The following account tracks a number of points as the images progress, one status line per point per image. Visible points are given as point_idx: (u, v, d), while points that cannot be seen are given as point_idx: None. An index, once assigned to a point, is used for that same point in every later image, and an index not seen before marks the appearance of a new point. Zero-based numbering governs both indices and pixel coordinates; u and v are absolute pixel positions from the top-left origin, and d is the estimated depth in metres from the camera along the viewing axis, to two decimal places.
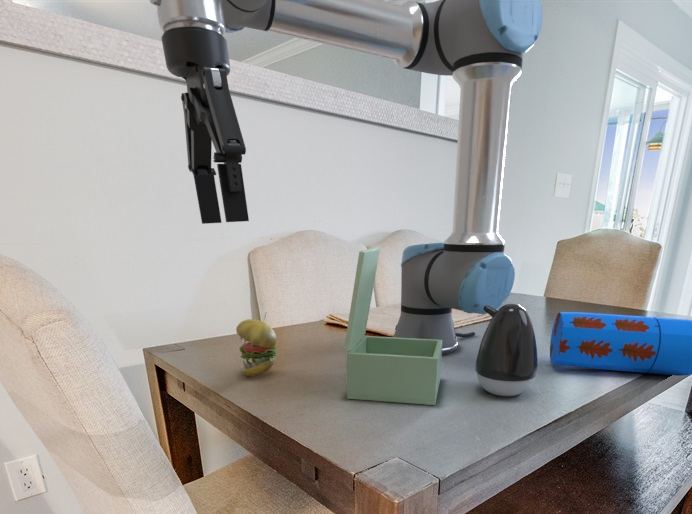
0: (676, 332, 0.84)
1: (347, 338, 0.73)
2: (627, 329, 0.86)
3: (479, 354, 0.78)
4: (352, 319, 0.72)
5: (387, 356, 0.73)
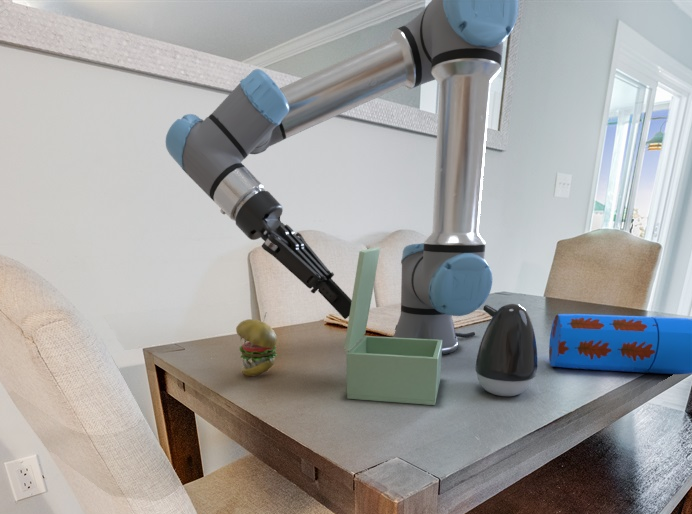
0: (674, 331, 0.85)
1: (347, 338, 0.73)
2: (625, 329, 0.86)
3: (479, 354, 0.78)
4: (352, 319, 0.72)
5: (387, 356, 0.73)
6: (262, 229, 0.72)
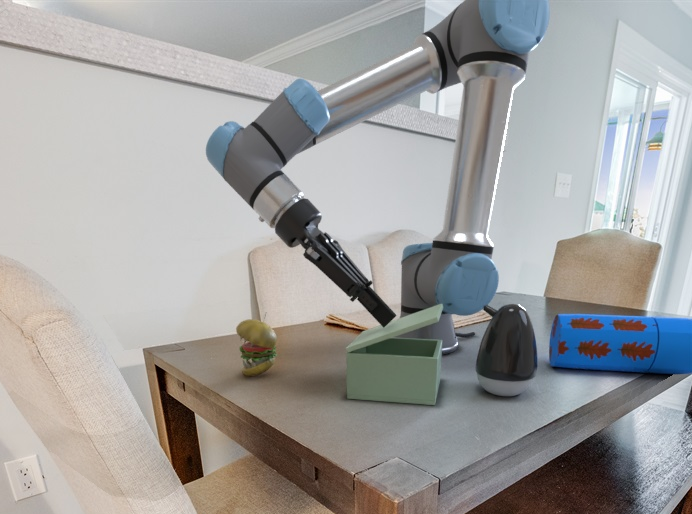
0: (674, 331, 0.85)
1: (357, 346, 0.73)
2: (625, 329, 0.86)
3: (479, 354, 0.78)
4: (376, 341, 0.72)
5: (387, 356, 0.73)
6: (303, 237, 0.71)
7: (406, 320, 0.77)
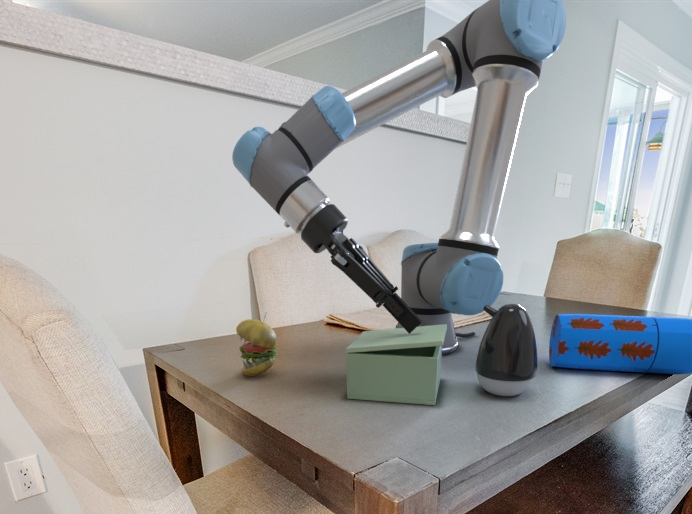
0: (674, 331, 0.85)
1: (358, 349, 0.73)
2: (625, 329, 0.86)
3: (479, 354, 0.78)
4: (377, 349, 0.73)
5: (387, 356, 0.73)
6: (330, 243, 0.71)
7: (410, 333, 0.78)
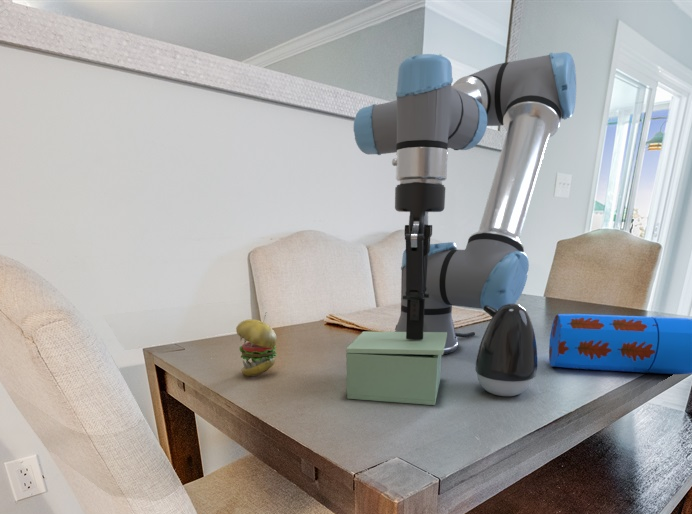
0: (674, 331, 0.85)
1: (358, 350, 0.73)
2: (625, 329, 0.86)
3: (479, 354, 0.78)
4: (377, 352, 0.73)
5: (387, 356, 0.73)
6: (416, 217, 0.67)
7: (410, 339, 0.78)
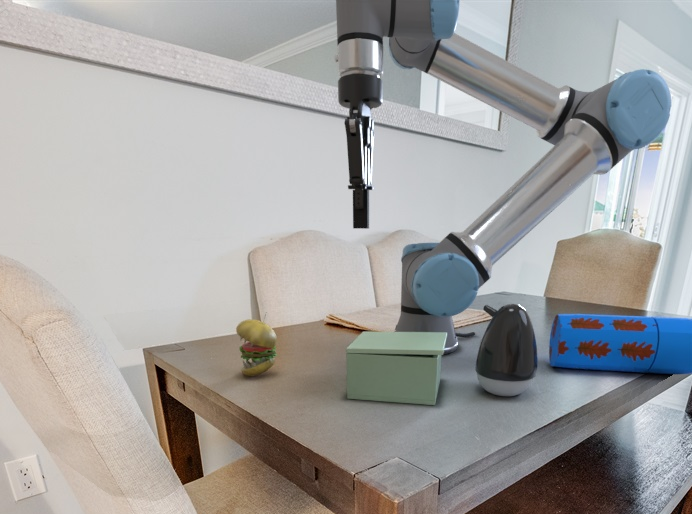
0: (674, 331, 0.85)
1: (358, 350, 0.73)
2: (625, 329, 0.86)
3: (479, 354, 0.78)
4: (377, 352, 0.73)
5: (387, 356, 0.73)
6: (355, 106, 0.75)
7: (410, 339, 0.78)
